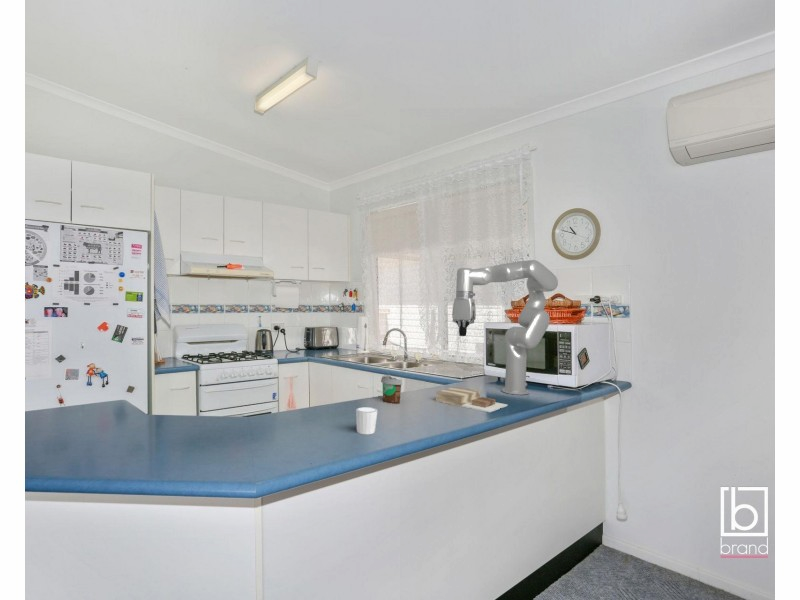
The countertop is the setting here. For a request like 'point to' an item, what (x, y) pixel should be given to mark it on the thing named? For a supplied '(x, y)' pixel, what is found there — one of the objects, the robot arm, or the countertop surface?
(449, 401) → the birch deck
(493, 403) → the walnut tile
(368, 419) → the white fluted cup
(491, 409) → the white folded cloth
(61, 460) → the countertop surface
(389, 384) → the food container
